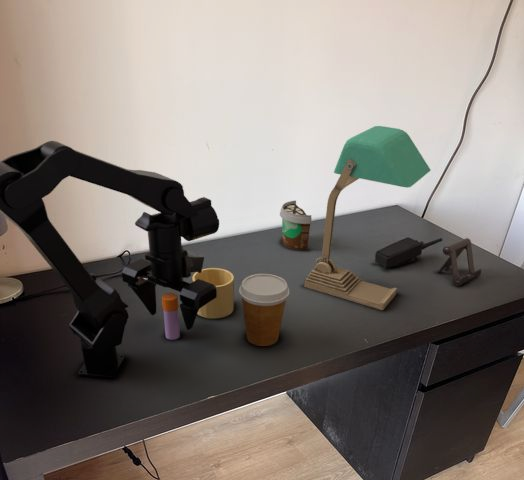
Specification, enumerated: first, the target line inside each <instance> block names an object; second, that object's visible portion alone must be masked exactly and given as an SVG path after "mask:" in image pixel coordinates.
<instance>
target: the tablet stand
mask: <svg viewBox="0 0 524 480" xmlns="http://www.w3.org/2000/svg"><path fill="white" fill-rule="evenodd" d="M464 250H465V251H466V257H467V264H468V274H467V275H465V276H462V277H460V274H459V266H458V258H459V256H460V255H461V254H462V253H463V252H464ZM442 253H443V255H444V256H449V257H448V258H447V259H446V261H445V262H444V263H443V264H442V266H441V267H440V268H439V269H438V271H437V274H440V273H441V272H443V270H445V271H446V270H448V269H450V268H451V272H452V279H453V285H455V286H456V287H460V286H462V285H464V284H466V283H468V282H470V281H472V280H474V279H476V278H478V277H480V276H481V275H482V269H481V268H478V269H477V270H476V269H475V265H474V264H475V263H474V255H473V247H472V240H471V239H470V238H469V237H466V238H463V239H461V240H458V241H455V242H453V243H450V244H449V245H446V246H444V247H443V248H442Z"/></svg>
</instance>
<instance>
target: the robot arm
mask: <svg viewBox="0 0 524 480" xmlns="http://www.w3.org/2000/svg"><path fill="white" fill-rule="evenodd" d="M68 177H72V178H74V179H77V180H81V181H84V182H87V183H89V184H93V185H96V186H99V187H103V188H105V189H109V190H111V191H115V192H118V193H121V194H124V195H127V196H129V197H130V198H132V199H134V200H136V201H137V202H139V203H141V204H142V205H144V206H146V207H149V208H151V209H153V210H155V211H157V212H156V213H153V214H150V213H148V212H145V211H143V212H142V214H141V216H139V218H138V219H137V220H136V221H135V222H134V225H135V226H136V227H138V228H140V229H142V230H143V231H145V232H147V238H148V239H147V240H148V250H149V251H148V252H146V253H145V254H144V259H143V258H139V259H137V260H135V261H132V262H130V263H129V264H127V265H124V266H123V269H122V270H121V278H122V282H123V283H125V284H127V286H128V288H131V290H132V291H133V292H134V294H135V295H136V296H137V298H138V299H139V300H140V301H141V302H142V304H143V306H144V307H145V308H146V310H147V311H148V313H149V314H150V315H151V316H155V315H156V314H157V293H156V292H157V291H156V288H157V287H156V286H159V287H163V288H168V289H171V290H174V291H177V292H179V301H180V302H181V303H180V304H179V308H180V311H181V315H182V319H183V322H184V326H185V328H186V330H187V331H191V330H192V328H193V326H194V324H195V321H196V319H197V315H198V314H197V313H198V311H199V309H200V308H201V307H203V306H204V305H206V304H207V303H209V302H210V301H212V300H213V299H215V298H217V290H216V286H215V285H213V284H211V283H208V282H206V281H203V280H200V279H197V280H196V281H194V282H192V281H191V282H190V283H189V282H188V281H184V279H188V278H190V277H192V273H196V272H198V273H201V272H202V269H203V267H204V261H205V256H204V255H202V254H198V253H195V252H192V251H189V250H187V249H183V245H182V238H183V239H184V240H185V241H187V242H191V241H196V240H198V239H201V238H204V237H208V236H210V235H213V234H216V233H217V232H219V231H218V230H219V228H220V219H219V217H218V214H217V212H216V210H215V208H214V207H213V206H212V200H211V199H210V198H207V197H205V196H202V197H199V198H197V199H195V200H192V201H190V200H189V199H188V198H187V197H186V195H185V190H184V185H183V184H181V183H180V182H179V181H177V180H175V179H173V178H170V177H168V176H166V175H162V174H161V173H159V172H155V171H148V170H142V169H128V168H124V167H122V166H119V165H117V164H114V163H111V162H110V161H109V162H108V161H106V160H103V159H100V158H98V157H95V156H92V155H90V154H87V153H84V152H81V151H79V150H77V149H74V148H72V147H71V146H69V145H66V144H64V143H62V142H60V141H56V140H48V141H46V142H44V143H42V144H40V145H38V146H37V147H35V148H31V149H29V150H26V151H22V152H18V153H16V154H13V155H10V156H8V157H7V158H4V159H2V160H1V161H0V215H2V216H3V217H5V218H6V219H7V220H8V221H9V222H11V223H12V224H13V225H14V226H16V228H18V229H19V230H20V232H22V233H23V235H24V236H25V237H26V238H27V240H28V242H30V243H31V245H33V247H34V248H35V249H36V251H37V252H38V253H39V254H40V256H41V257H42V258H43V259H44V261H46V264H48V265H49V267H50V268H51V269H52V270H53V271H54V273H55V274H56V275H57V277H58V278H59V279H60V280H61V281H62V282H63V284H64V285H65V287H66V288H67V289H68V290H69V291H70V293H71V294H72V299H73V304H74V305H75V307H76V309H77V311H76V313H75V314H74V316H73V318H72V319H71V321H70V322H69V324H68V328H69V329H70V331H72V333H73V334H74V335H76V336H77V337H78V338H79V339H80V347H81V351H82V357H83V362H84V363H83V364H82V366H81V368H80V369H79V370H78V375H79V376H81V377H90V378H99V379H100V378H101V379H110V380H111V379H115V377H116V375H117V373H118V372H119V370H120V368H121V366H122V365H123V364H124V361H125V359H126V357H125V355H122V354H118V353H117V347H118V346H120V345H122V343H123V338H124V335H125V330H126V329H125V328H126V325H127V323H128V319H129V317H130V316H129V312H128V310H127V308H128V307H129V305H128V304H127V303H125V302H124V301H123V300H122V298H121V296H120V293H119V292H118V291H117V290H116V288H114V287H112V286H111V285H110V284H108V283H107V282H105V281H104V280H102V279H101V278H97V279H96V280H95V279H94V278H93V277H92V275H91V273H90V272H88V270H87V269H86V267H85V266H84V265H83V263H82V262H81V261H80V259H79V258H78V256H77V255H76V254H75V253H74V251H73V250H72V249H71V247H70V246H69V245H68V243H67V242H66V241H65V239H64V238H63V237H62V235H61V234H60V232H59V231H58V230H57V228H56V227H55V226H54V225H53V223H52V222H51V221H50V218H49V216H48V215H49V214H48V211H47V207H46V204H45V201H44V199H43V198H45V197H46V196H49V195H50V194H51V193H52V192H53V191H54V190H55V189H56V188H57V187H58V185H60V183H61V182H62V181H64V179H66V178H68Z"/></svg>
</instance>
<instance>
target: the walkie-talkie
mask: <svg viewBox="0 0 524 480" xmlns="http://www.w3.org/2000/svg"><path fill="white" fill-rule="evenodd" d="M442 241H443V238H442V237H439V238H437V239H433V240H431V241H429V242H424V241H419V240H418V239H413V238H412V237H404V238H403V239H399V240H398V241H395V242H393V243H391V244H389V245H386V246H385V247H382V248H380V249H378V250H376V251H375V256H374V262H375V263H376V264H378V265H380V266H382V267H383V268H385V269H388V268H395V267H397V266H401V265H405V264H409V263H411V262H414V261H417V260H418V259H419V256H421V255H422V253H423V250H425V249H427V248H429V247H431V246H433V245H435V244H438V243H441V242H442Z"/></svg>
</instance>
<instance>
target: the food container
mask: <svg viewBox="0 0 524 480" xmlns="http://www.w3.org/2000/svg"><path fill="white" fill-rule="evenodd" d="M279 216H280V218H281V222H282V223H281V226H282V227H281V229H282V230H281V231H282V232H281V233H282V245H283V246H284V247H285V248H287V249H290V250H293V251H307V250H308V246H309V245H308V244H309V238H310V230H311V224H312V215H311V214H307V213H306V212H305V210H304V209H303V208H301V207H299V206H298V204H297V200H290V201H286V202H285V203H283V204H282V206H281V208H280V211H279Z"/></svg>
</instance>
